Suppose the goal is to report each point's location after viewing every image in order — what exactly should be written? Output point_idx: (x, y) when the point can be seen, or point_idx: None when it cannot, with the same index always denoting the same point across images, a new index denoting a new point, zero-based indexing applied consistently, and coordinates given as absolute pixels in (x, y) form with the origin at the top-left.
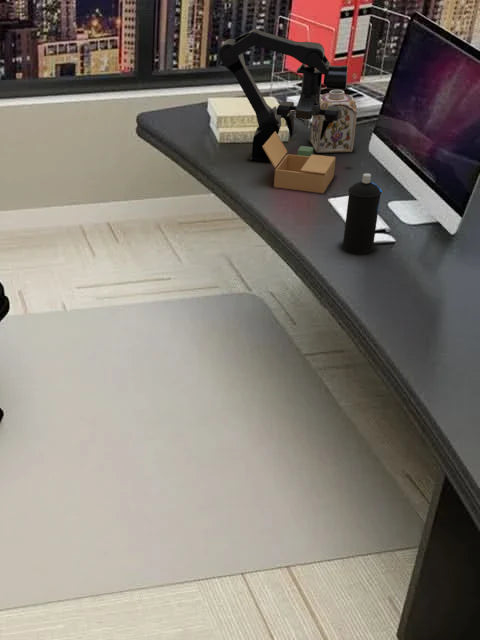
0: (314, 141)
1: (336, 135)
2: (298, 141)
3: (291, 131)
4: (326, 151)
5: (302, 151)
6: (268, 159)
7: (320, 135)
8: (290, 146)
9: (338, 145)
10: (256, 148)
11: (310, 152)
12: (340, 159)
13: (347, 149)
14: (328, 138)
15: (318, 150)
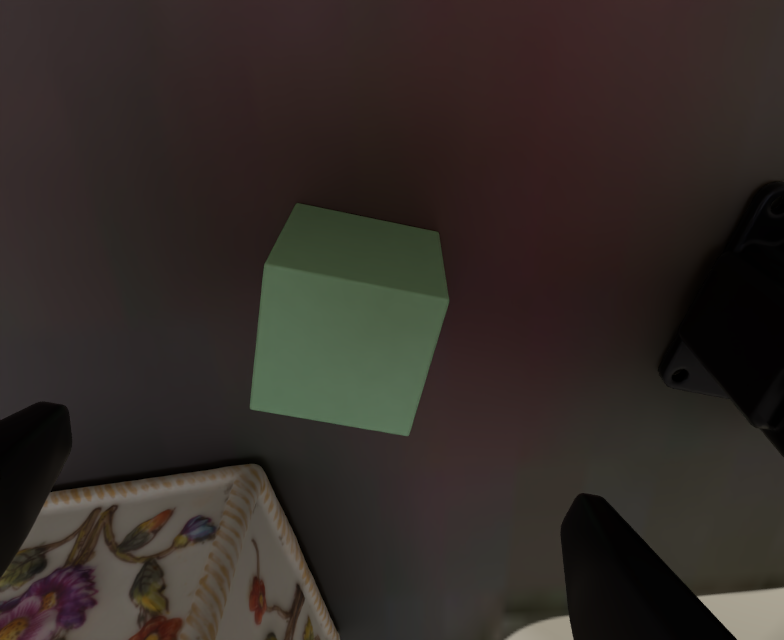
0: (293, 601)
1: (22, 632)
2: (424, 631)
3: (638, 573)
4: (175, 479)
5: (381, 281)
6: (773, 240)
7: (2, 459)
8: (486, 561)
9: (57, 538)
10: None
11: (266, 261)
12: (15, 354)
13: None
14: (118, 594)
15: (241, 478)
